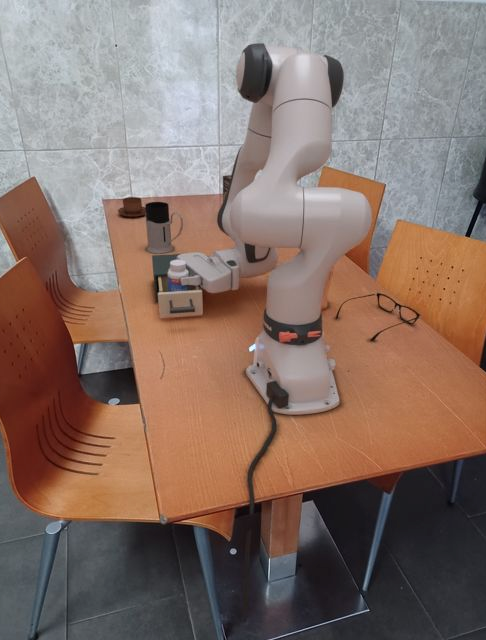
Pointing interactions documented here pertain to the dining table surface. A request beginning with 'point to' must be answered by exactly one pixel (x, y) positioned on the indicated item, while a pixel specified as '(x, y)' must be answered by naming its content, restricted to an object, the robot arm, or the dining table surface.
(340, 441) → the dining table surface
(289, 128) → the robot arm
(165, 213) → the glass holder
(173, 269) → the pill bottle
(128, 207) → the brown round flanged piece
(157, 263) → the cabinet
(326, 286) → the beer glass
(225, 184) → the coffee box
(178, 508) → the dining table surface
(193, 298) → the drawer
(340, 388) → the dining table surface
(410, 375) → the dining table surface
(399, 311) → the eyeglasses
